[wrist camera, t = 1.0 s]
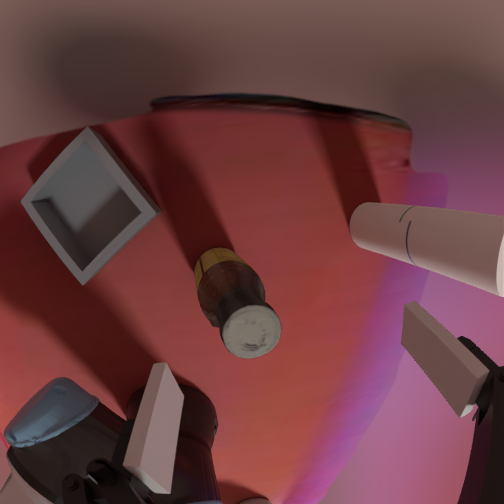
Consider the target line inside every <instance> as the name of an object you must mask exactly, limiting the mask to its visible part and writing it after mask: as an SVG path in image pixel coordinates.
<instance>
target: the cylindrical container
mask: <svg viewBox="0 0 504 504" xmlns="http://www.w3.org/2000/svg"><path fill="white" fill-rule="evenodd" d="M350 234H351V237H352V239H353V241H354V242H355V243H356V244H357V245H358V246H359V247H362V248H364V249H368V250H371V251H374V252H377V253H380V254H383V255H386V256H389V257H392V258H395V259H398V260H401V261H404V262H407V263H410V264H413V265H416V266H419V267H422V268H425V269H428V270H430V271H434V272H436V273H439V274H442V275H445V276H448V277H450V278H453V279H456V280H459V281H462V282H464V283H467V284H469V285H472V286H475V287H478V288H480V289H483V290H485V291H488V292H491V293H493V294H496V295H499V296H501V297H504V216H499V215H491V214H485V213H477V212H470V211H460V210H452V209H444V208H434V207H424V206H413V205H401V204H387V203H372V202H366V203H363V204H361V205H359V206H358V207H357V208H356V209H355V210H354V212H353V214H352V216H351V219H350Z"/></svg>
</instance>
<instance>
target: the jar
mask: <svg viewBox="0 0 504 504" xmlns="http://www.w3.org/2000/svg"><path fill="white" fill-rule="evenodd" d="M239 504H272V503H271V502H269V501H268V500H266V499H263V498H253V499H248V500H244V501H242V502H240V503H239Z"/></svg>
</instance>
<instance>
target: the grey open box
mask: <svg viewBox="0 0 504 504" xmlns="http://www.w3.org/2000/svg"><path fill="white" fill-rule="evenodd" d="M21 203H22V205H23V206H24V208H25V209H26V211H27V213H28V214H29V216H30V217H31V219H32V220H33V222H34V223H35V225H36V226H37V227H38V229H39V230H40V232H41V233H42V235H43V236H44V237H45V239H46V240H47V242H48V243H49V244H50V246H51V247H52V248H53V250H54V251H55V252H56V254H57V255H58V256H59V257H60V259H61V260H62V261H63V263H64V264H65V265H66V266H67V268H68V269H69V270H70V271H71V272H72V274H73V275H74V276H75V277H76V278H77V280H78V281H79V282H80V283H81V284H82V286H83V285H84V284H85V283H87V282H88V281H89V280H90V279H91V278H92V277H94V276H95V275H96V274H97V273H98V272H99V271H100V270H101V269H102V268H103V267H104V266H105V265H106V264H107V263H108V262H109V261H110V260H111V259H112V258H113V257H114V256H115V255H116V254H117V253H118V252H119V251H120V250H121V249H122V248H123V247H124V246H125V245H126V244H127V243H128V242H129V241H130V240H131V239H132V238H134V237H135V236H136V235H137V234H138V233H139V232H140V231H141V230H142V229H143V228H144V227H145V226H146V225H148V224H149V223H150V222H151V221H152V220H153V219H154V218H155V217H156V216H158V215H159V214H160V213H161V212H162V211H161V209H160V208H159V207H158V206H157V205H156V203H155V202H154V201H153V200H152V198H151V197H150V196H149V195H148V194H147V192H146V191H145V190H144V189H143V187H142V186H141V185H140V184H139V183H138V181H137V180H136V179H135V178H134V176H133V175H132V174H131V173H130V171H129V170H128V169H127V168H126V166H125V165H124V164H123V162H122V161H121V160H120V159H119V157H118V156H117V155H116V154H115V152H114V151H113V150H112V148H111V147H110V146H109V144H108V143H107V142H106V141H105V139H104V138H103V137H102V136H101V135H100V134H99V133H97V132H96V131H94V130H93V129H91V128H90V127H89V126H87V127H86V128H85V129H84V130H83V131H82V132H81V133H80V134H79V135H78V136H77V137H76V138H75V139H74V140H73V141H72V142H71V143H70V144H69V145H68V146H67V147H66V148H65V149H64V150H63V151H62V152H61V154H60V155H59V156H58V157H57V158H56V159H55V160H54V161H53V162H52V163H51V165H50V166H49V167H48V168H47V169H46V170H45V172H44V173H43V174H42V175H41V176H40V177H39V179H38V180H37V181H36V182H35V184H34V185H33V186H32V187H31V189H30V190H29V191H28V192H27V194H26V195H25V196H24V198H23V199H22V200H21Z"/></svg>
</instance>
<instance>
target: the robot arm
mask: <svg viewBox="0 0 504 504" xmlns="http://www.w3.org/2000/svg"><path fill="white" fill-rule="evenodd" d="M401 344H402V345H403V346H404V348H405V349H406V350H407V351H408V352H409V354H410V355H411V356H412V357H413V359H414V360H415V361H416V362H417V363H418V365H419V366H420V367H421V368H422V370H423V371H424V372H425V373H426V375H427V376H428V377H429V378H430V380H431V381H432V382H433V384H434V385H435V386H436V387H437V389H438V390H439V391H440V393H441V394H442V395H443V397H444V398H445V399H446V401H447V402H448V403H449V405H450V406H451V407H452V408H453V410H454V411H455V413H456V414H457V415H458V417H459V418H461V417H463V416H464V415H466V414H467V413H469V412H470V411H472V408H473V406H474V404H475V403H476V404H477V406H478V409H477V411H476V413H475V414H474V416H473V419H472V421H474V419H475V418H476V424H475V431H474V438H473V443H472V449H471V454H470V459H469V464H468V468H467V472H466V477H465V480H464V484H463V487H462V491H461V494H460V497H459V501H458V504H504V366H502V367H499V366H497V365H496V364H495V363H494V362H493V361H492V360H491V359H490V358H489V357H488V356H487V355H486V354H485V353H484V352H483V351H481V349H480V348H479V347H477V346H476V345H475V344H474V343H473V342H472V341H471V340H470V339H468V338H465V337H463V336H460V337H458V338H456V337H455V336H454V335H452V334H451V333H450V332H449V331H448V330H447V329H446V328H445V327H444V326H443V325H441V324H440V323H439V322H438V321H437V320H436V319H435V318H434V317H433V316H432V315H430V314H429V313H428V312H427V311H426V310H425V309H424V308H422V307H421V306H420V305H419V304H418V303H417V302H416V301H414V302H411V303H408V304H405V305H404V316H403V329H402V340H401ZM126 418H127V421H125V420H124V419H123V418H121V417H120V416H118V415H117V414H116V413H114V412H113V411H112V410H110V409H109V408H108V407H106V406H105V405H104V404H102V403H101V402H100V401H99V399H98V398H97V397H95V396H93V395H91V394H89V393H88V392H87V391H85V390H84V389H83V388H81V387H80V386H79V385H78V384H76V383H75V382H74V381H72V380H71V379H69V378H65V377H60V378H56V379H54V380H52V381H51V382H49V383H48V384H46V385H45V386H44V387H43V388H42V389H41V390H39V391H38V392H37V393H36V394H35V395H34V396H33V397H32V398H31V399H30V400H29V401H28V402H27V403H26V404H25V405H24V406H23V407H22V408H21V409H20V411H19V412H18V413H17V415H16V416H15V417H14V418H13V419H12V420H11V421H10V423H9V424H8V425H7V427H6V428H5V431H4V437H5V439H6V440H7V442H8V444H9V445H11V446H10V448H9V449H8V451H7V453H6V458H7V460H8V463H9V466H10V469H11V474H10V475H9V477H8V479H7V480H6V482H5V484H4V486H3V487H2V490H1V491H0V504H222V502H221V500H220V495H219V490H218V486H217V481H216V476H215V470H214V465H213V460H212V454H211V448H212V445H213V441H214V436H215V434H216V431H217V427H218V420H217V414H216V410H215V407H214V405H213V404H212V402H211V401H210V400H209V399H208V398H207V397H206V396H205V395H204V394H202V393H201V392H199V391H197V390H195V389H193V388H191V387H188V386H185V385H181V384H177V382H176V380H175V378H174V376H173V374H172V372H171V370H170V369H169V367H168V365H167V363H166V362H163V363H155V364H153V367H152V370H151V373H150V376H149V379H148V382H147V385H146V386H145V387H143V388H141V389H139V390H138V391H136V392H135V393H134V394H133V395H132V397H131V398H130V400H129V403H128V408H127V413H126Z"/></svg>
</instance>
